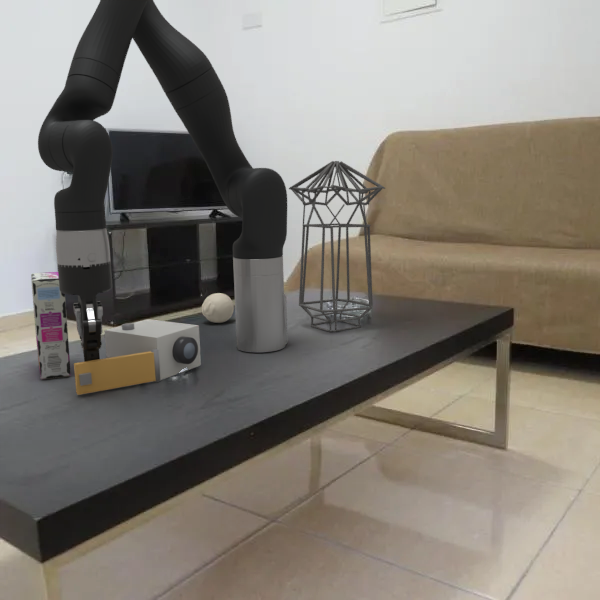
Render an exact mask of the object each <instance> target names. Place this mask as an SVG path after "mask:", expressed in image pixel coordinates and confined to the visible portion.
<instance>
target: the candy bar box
mask: <svg viewBox="0 0 600 600" xmlns="http://www.w3.org/2000/svg"><path fill="white" fill-rule="evenodd" d="M30 278H31V279H30V280H31V290H32V291H31V293H32V294H31V295H32V303H33V304H32V305H33V314H34V315H33V316H34V317H33V318H34V328H35V340H36V350H37V351H36V352H37V360H38V361H37V362H38V369H39V377H40V380H52V379H59V378H69V377H71V376H72V373H71V359H70V342H69V332H68V317H67V305H66V294H63V293H62V292H61V291H60V288H59V277H58V271H49V272H33V273H31V277H30Z"/></svg>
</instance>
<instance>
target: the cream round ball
mask: <svg viewBox="0 0 600 600" xmlns="http://www.w3.org/2000/svg"><path fill="white" fill-rule="evenodd" d="M234 310H235V305H234V301H233V300H232V299H231V297H230V296H229V295H228V294H226V293H220V292H217V293H216V292H215V293H212V294H210V295H208V296H207V297H206V298H205V299H204V300H203V303H202V305H201V313H202V315H203V316H204V317H205V318H206V320H208V321H209V322H211V323H215V324H222V323H225V322H227V321H229V320H230V319H231V318H232V316H233V313H234V312H235V311H234Z"/></svg>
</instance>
